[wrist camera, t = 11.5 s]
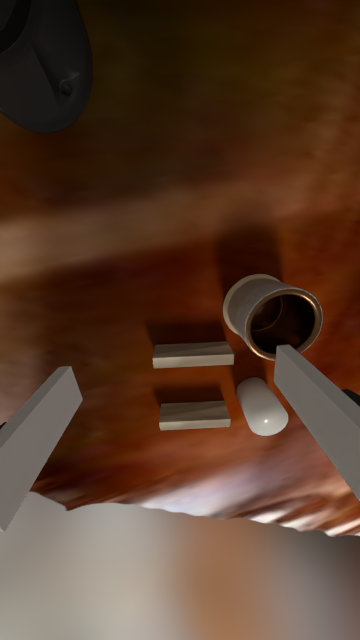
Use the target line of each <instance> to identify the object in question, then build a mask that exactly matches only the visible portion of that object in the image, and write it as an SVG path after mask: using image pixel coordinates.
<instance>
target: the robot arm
mask: <svg viewBox="0 0 360 640" xmlns="http://www.w3.org/2000/svg"><path fill="white" fill-rule="evenodd" d="M92 72H93V67H92V54H91V48H90V43H89V39H88V35H87V32H86V29H85V26H84V24H83V21H82V19H81V16H80V14H79V11H78V9H77V7H76V4H75V2H74V0H0V112H1V113H2V114H3V115H5V116H6V117H7V118H8V119H10V120H11V121H12V122H14V123H16V124H17V125H19V126H21V127H23V128H25V129H28V130H31V131H34V132H41V133H49V132H55V131H59V130H61V129H64V128H65V127H67V126H69V125H70V124H71V123H72V122H74V121H75V120H76V119H77V117H78V116H79V115H80V113H81V112H82V110H83V109H84V107H85V105H86V102H87V100H88V97H89V93H90V89H91V84H92ZM274 383H275V384H276V385H277V387H278V388H279V390H280V391H281V392H282V394H283V395H284V397H285V398H286V399H287V401H288V402H289V404H290V405H291V406H292V408H293V409H294V410H295V412H296V413H297V415H298V416H299V417H300V419H301V420H302V422H303V423H304V424H305V426H306V427H307V429H308V430H309V431H310V433H311V434H312V436H313V437H314V438H315V440H316V441H317V443H318V444H319V445H320V447H321V448H322V450H323V451H324V452H325V454H326V455H327V456H328V458H329V459H330V461H331V462H332V463H333V465H334V466H335V468H336V469H337V470H338V472H339V473H340V475H341V476H342V477H343V479H344V480H345V482H346V483H347V484H348V486H349V487H350V489H351V490H352V491H353V493H354V494H355V495H356V497H357V498H358V500H359V501H360V395H358V394H356V393H354V392H352V391H350V390H348V389H345V390H340V389H339V388H338V387H337V386H336V385H334V384H333V383H332V382H331V381H330V380H329V379H328V378H327V377H325V376H324V375H323V374H322V373H321V372H320V371H319V370H317V369H316V368H315V367H314V366H313V365H312V364H311V363H310V362H308V361H307V360H306V359H305V358H304V357H303V356H302V355H300V354H299V353H298V352H297V351H296V350H295V349H294V348H293V347H291V346H290V345H279V346H277V350H276V361H275V372H274ZM82 400H83V399H82V396H81V393H80V391H79V388H78V385H77V382H76V379H75V377H74V374H73V371H72V368H71V366H65V367H58V369H57V370H56V371H55V372H54V373H53V374H52V375H51V376H50V377H49V378H48V379H47V380H46V381H45V382H44V383H43V385H42V386H41V387H40V388H39V389H38V390H37V391H36V392H35V393H34V394H33V395H32V396H31V397H30V398H29V399H28V400H27V402H26V403H25V404H24V405H23V406H22V407H21V408H20V409H19V410H18V411H17V412H16V413H15V414H14V415H13V416H12V417H11V419H10V420H9V421H8V422H4V423H3V424H2V425H0V532H5V530H6V529H7V527H8V525H9V524H10V522H11V520H12V519H13V517H14V515H15V513H16V512H17V510H18V508H19V507H20V505H21V503H22V502H23V500H24V498H25V497H26V495H27V493H28V491H29V490H30V488H31V486H32V485H33V483H34V481H35V480H36V478H37V476H38V475H39V473H40V471H41V469H42V468H43V466H44V464H45V463H46V461H47V459H48V458H49V456H50V454H51V453H52V451H53V449H54V447H55V446H56V444H57V442H58V441H59V439H60V437H61V436H62V434H63V432H64V431H65V429H66V427H67V425H68V424H69V422H70V420H71V419H72V417H73V415H74V414H75V412H76V410H77V409H78V407H79V405H80V403H81V402H82Z"/></svg>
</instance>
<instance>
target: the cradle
mask: <svg viewBox="0 0 360 640" xmlns="http://www.w3.org/2000/svg"><path fill="white" fill-rule="evenodd" d="M233 363H234V353H233V352H232V350H231V348H230V346H229V344H228V343H227V341H226V342H206V343H185V344H165V345H155V350H154V354H153V366H154V368H169V367H189V366H209V365H230V364H233ZM159 424H160V430H176V429H195V428H215V427H230V417H229V413H228V410H227V407H226V404H225V401H208V402H188V403H168V404H161V410H160V421H159Z"/></svg>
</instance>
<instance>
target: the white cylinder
mask: <svg viewBox="0 0 360 640" xmlns="http://www.w3.org/2000/svg"><path fill="white" fill-rule="evenodd" d="M236 395H237V398H238V400H239V403H240V405H241V407H242V410H243V412H244V415H245V417H246V419H247V422H248V424H249V426H250V429H251V430H252V431H253V432H254V433H256V434H258V435H263V436H267V435H273V434H275V433H278V432H279V431H281V430H282V429H283V428H284V427H285V426H286V424H287V422H288V414H287V412H286V411H285V409H284V408H283V406H282V405H281V403H280V402H279V400H278V399H277V398H276V396H275V395H274V393H273V392H272V390H271V389H270V387H269V386H268V384H267V383H266V382H265V381H264V380H263V379H261V378H257V377H252V378H248V379H245V380H244V381H242V382H241V383H240V384H239V385H238V387H237V390H236Z"/></svg>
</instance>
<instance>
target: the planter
mask: <svg viewBox="0 0 360 640" xmlns="http://www.w3.org/2000/svg"><path fill="white" fill-rule="evenodd" d="M228 317H229V320H230V322H231V324H232V326H233V327H234V329H235V330H236V331H237V332H238V334H239V335H240V336H241V337H242V339H243V340H244V341H245V342H246V344H247V345H248V346H249V348H250V349H251V350H252V351H253V352H254V353H255V354H257V355H258V356H260V357H262V358H265V359H268V360H276V350H277V346H279V345H290V346H291V347H293V348H294V349H295V350H296V351H297V352H298V353H299V354H300V353H302V352H303V351H305V350H306V349H307V348H308V347H309V346H310V345H311V344H312V343H313V342H314V341H315V339H316V338H317V336H318V334H319V332H320V330H321V326H322V321H323V313H322V309H321V306H320V304H319V302H318V300H317V299H316V298H315V297H314V296H313V295H312V294H310V293H309V292H307V291H305V290H303V289H300V288H297V287H293V286H290V285H287V284H284V283H281V282H279V281H276V280H272V279H268V278H257V279H253V280H250V281H247V282H245V283H244V284H242V285H241V286H240V287H239V288H238V289H237V290H236V291H235V292H234V293H233V295H232V297H231V299H230V301H229V305H228Z"/></svg>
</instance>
